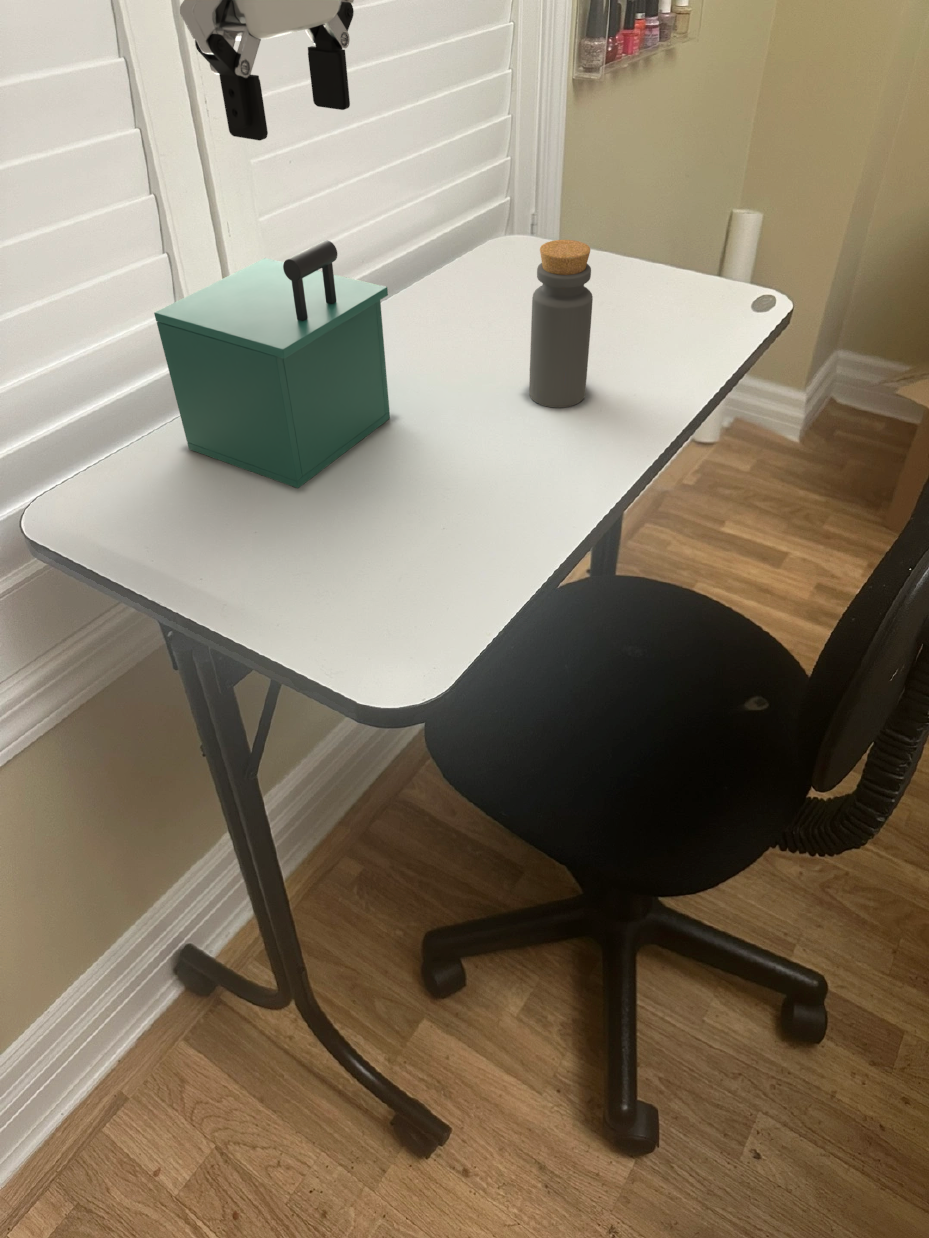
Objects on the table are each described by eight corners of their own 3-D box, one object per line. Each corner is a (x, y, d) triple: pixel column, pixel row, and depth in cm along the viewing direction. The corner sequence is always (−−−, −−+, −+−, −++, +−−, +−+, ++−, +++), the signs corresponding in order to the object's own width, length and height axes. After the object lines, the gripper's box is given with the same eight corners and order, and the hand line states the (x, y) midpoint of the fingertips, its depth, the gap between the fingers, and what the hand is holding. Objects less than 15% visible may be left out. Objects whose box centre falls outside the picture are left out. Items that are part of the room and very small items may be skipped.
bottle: (522, 404, 93) (527, 256, 83) (536, 378, 97) (541, 234, 87) (578, 411, 92) (590, 262, 82) (590, 385, 96) (602, 240, 86)
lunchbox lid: (388, 295, 82) (383, 227, 78) (284, 359, 73) (272, 285, 69) (266, 266, 88) (255, 201, 84) (155, 321, 79) (138, 251, 75)
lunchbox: (390, 418, 91) (380, 293, 83) (298, 488, 82) (275, 356, 73) (286, 386, 97) (266, 266, 88) (188, 449, 87) (155, 322, 79)
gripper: (294, -182, 64) (324, 92, 75) (105, -177, 53) (173, 144, 64) (381, -184, 61) (398, 102, 72) (199, -178, 50) (253, 158, 61)
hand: (292, 121), depth 68 cm, fingers open, 9 cm apart
